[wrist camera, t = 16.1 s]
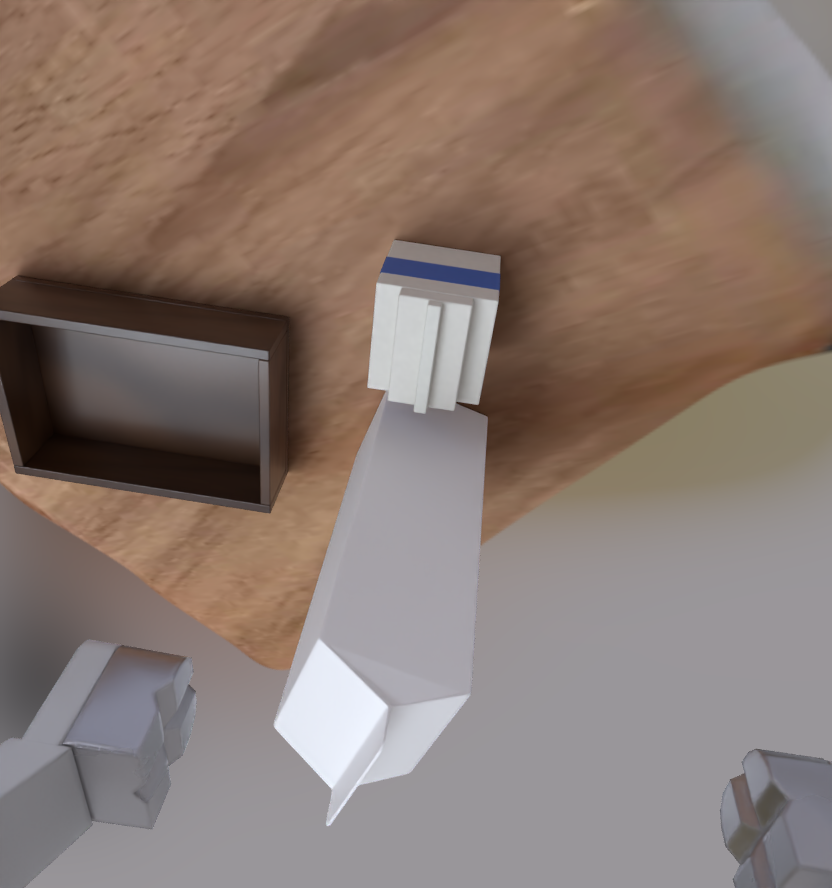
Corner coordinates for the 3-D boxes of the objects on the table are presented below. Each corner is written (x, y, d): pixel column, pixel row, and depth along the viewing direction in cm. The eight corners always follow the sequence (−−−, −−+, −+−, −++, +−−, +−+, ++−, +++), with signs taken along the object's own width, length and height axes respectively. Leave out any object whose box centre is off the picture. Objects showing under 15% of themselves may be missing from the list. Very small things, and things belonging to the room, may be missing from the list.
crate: (16, 275, 40) (-29, 305, 37) (289, 316, 40) (269, 350, 37) (50, 435, 46) (15, 473, 43) (287, 472, 46) (270, 513, 43)
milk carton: (393, 238, 37) (370, 295, 31) (501, 255, 37) (498, 315, 31) (383, 336, 40) (361, 404, 34) (483, 351, 40) (477, 423, 34)
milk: (356, 452, 45) (243, 804, 27) (393, 373, 41) (290, 715, 23) (448, 489, 45) (398, 855, 27) (491, 415, 42) (467, 777, 24)
